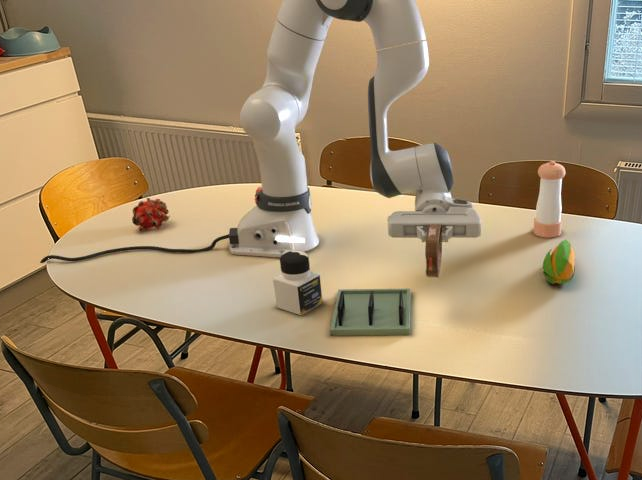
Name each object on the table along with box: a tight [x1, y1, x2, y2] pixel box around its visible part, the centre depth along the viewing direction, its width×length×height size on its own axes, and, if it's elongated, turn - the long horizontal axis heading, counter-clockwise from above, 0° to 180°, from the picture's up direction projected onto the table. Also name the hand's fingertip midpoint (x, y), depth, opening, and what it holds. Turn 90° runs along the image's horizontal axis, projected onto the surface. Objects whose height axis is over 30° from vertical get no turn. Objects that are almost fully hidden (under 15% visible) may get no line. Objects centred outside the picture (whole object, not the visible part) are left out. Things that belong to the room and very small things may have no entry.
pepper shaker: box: [533, 160, 566, 239], centre depth 193 cm, size 7×7×19 cm
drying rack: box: [329, 288, 412, 337], centre depth 156 cm, size 16×19×5 cm
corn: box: [542, 239, 576, 286], centre depth 173 cm, size 7×8×20 cm
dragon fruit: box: [131, 197, 171, 232], centre depth 198 cm, size 8×8×12 cm
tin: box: [424, 224, 443, 279], centre depth 153 cm, size 15×3×8 cm, turn 177°
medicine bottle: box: [272, 251, 323, 316], centre depth 158 cm, size 7×7×12 cm
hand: (435, 238), depth 155 cm, fingers closed on tin, 3 cm apart
